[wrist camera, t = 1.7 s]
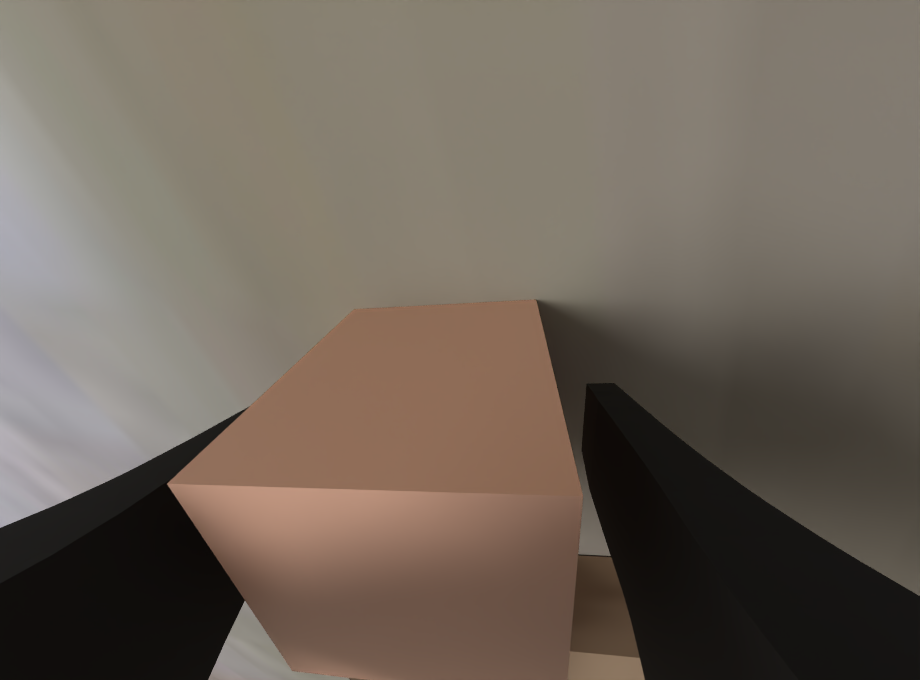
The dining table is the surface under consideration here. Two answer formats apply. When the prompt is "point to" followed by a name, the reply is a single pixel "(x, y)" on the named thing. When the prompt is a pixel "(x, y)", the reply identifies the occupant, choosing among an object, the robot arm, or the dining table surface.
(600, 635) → the walnut base
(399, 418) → the terracotta block
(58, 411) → the dining table surface
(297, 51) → the dining table surface
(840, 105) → the dining table surface
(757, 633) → the robot arm
